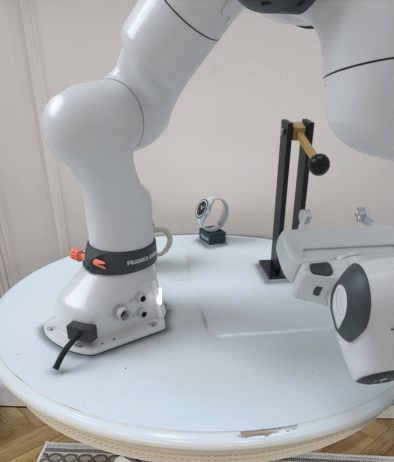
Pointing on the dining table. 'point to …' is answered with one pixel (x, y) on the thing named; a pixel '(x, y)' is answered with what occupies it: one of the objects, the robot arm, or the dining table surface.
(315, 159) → the lever
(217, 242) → the watch
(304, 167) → the stand
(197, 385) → the dining table surface
